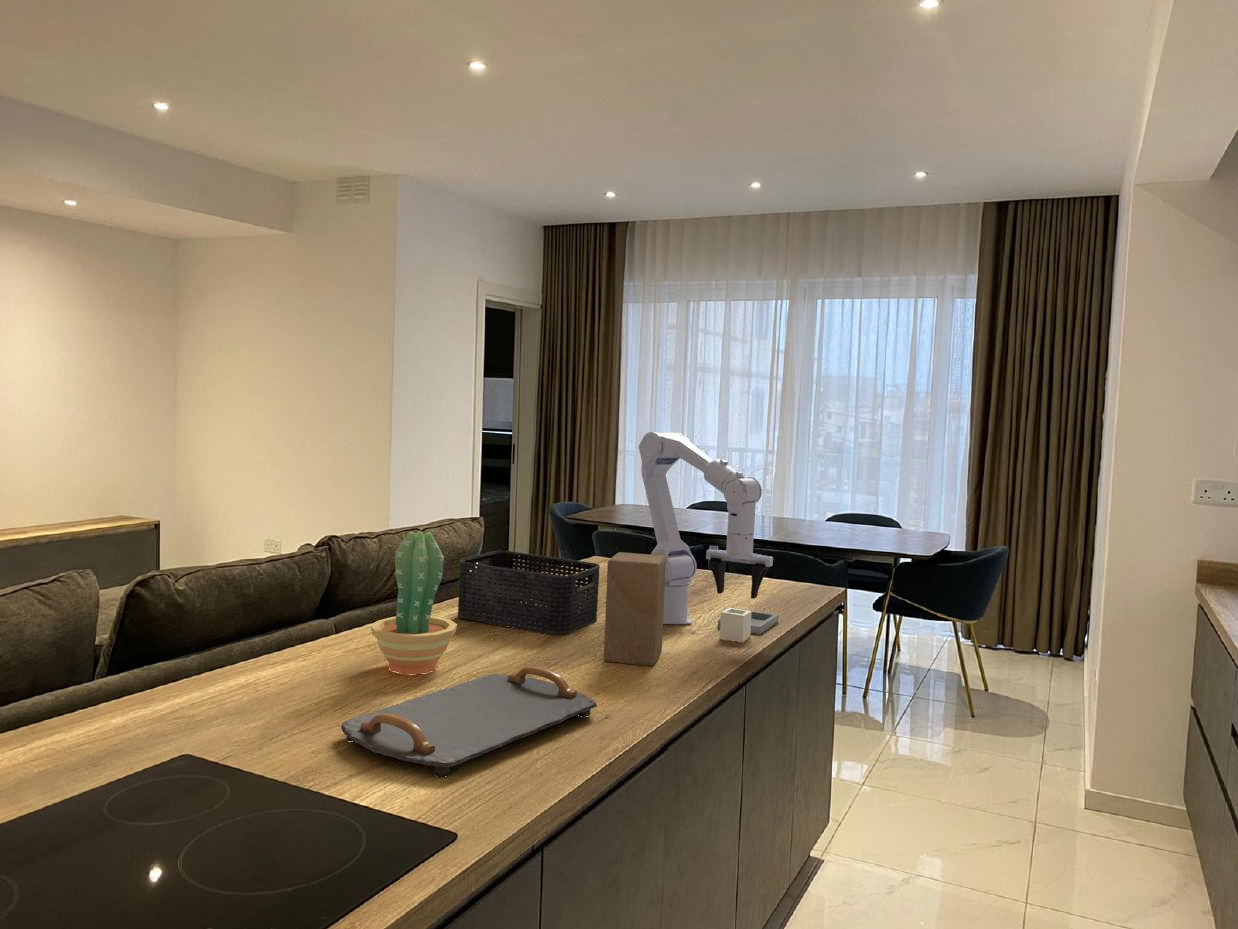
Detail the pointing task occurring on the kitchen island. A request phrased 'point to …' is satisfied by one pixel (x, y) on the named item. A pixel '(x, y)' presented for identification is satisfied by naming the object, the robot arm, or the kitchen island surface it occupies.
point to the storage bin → (528, 592)
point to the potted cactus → (415, 609)
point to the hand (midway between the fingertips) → (737, 595)
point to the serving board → (468, 718)
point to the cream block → (735, 625)
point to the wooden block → (634, 608)
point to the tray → (760, 621)
